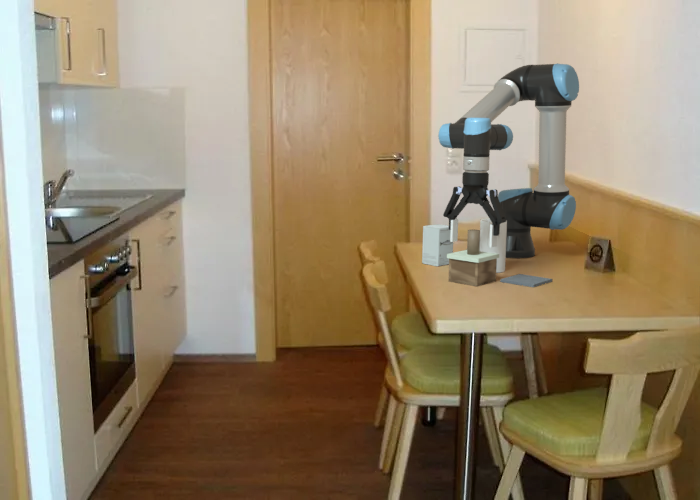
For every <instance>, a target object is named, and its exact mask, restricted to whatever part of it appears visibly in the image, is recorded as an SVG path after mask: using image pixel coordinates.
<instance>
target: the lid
mask: <svg viewBox="0 0 700 500" xmlns="http://www.w3.org/2000/svg"><path fill="white" fill-rule="evenodd" d="M466 239H467V240H466V241H467V242H466V244H467V245H466V247H467V248H466V249H465V250H460V251H453V253H449V254H447V258H450V259H456V260H463V261H469V262H476V263H480V262H484V261H488V260H492V259H497V258H499V254H497V253H490V252H482V251H479V250H480V229H467V238H466Z"/></svg>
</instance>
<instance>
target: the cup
mask: <svg viewBox="0 0 700 500" xmlns="http://www.w3.org/2000/svg"><path fill="white" fill-rule="evenodd" d="M491 224H492V221H491V220H490V218H489V217H488V218H481V219H480V221H479V230H480V250H479V251H482V252H490V253H497V254H499V258H497V266H496V274H497V273H498V274H501V273H504V272H505V271H506V259H507V258H506V234H507V220H506V222H504V223H501V224H500V231H499V235H498V236H497V246H496V247H489V240H490V225H491Z"/></svg>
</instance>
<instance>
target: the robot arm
mask: <svg viewBox="0 0 700 500" xmlns="http://www.w3.org/2000/svg"><path fill="white" fill-rule="evenodd" d="M579 80H580V79H579V76H578V73H577V71H576V70H575V68H574V67H573V66H572V65H571V64H567V63H549V64H548V63H547V64H545V63H543V64H526V65H522V66H520V67H517V68H515V69H513V70H511V71H510V72H508V73H505V75H503V76H502V77H501V78H500V79H498V80H497V82H495V83H494V84H493V89H492V90H491V91H489V92H488V93H487V94H486V95H485V96H484V97H482V98H481V99H480V100H479V101H478V102H477V103H476V104H475V105H474V106H472V107H471V108H470V109H469V110H467V112H466V113H464V114H463V115H462V116H461V117H460V118H459V119H458V120H457V121H455V122H453V123H452V122H449V123H443V124H442V125H441V126H440V128H439V130H438V135H437V137H438V141H439V144H440V145H441V146H442V148H447V149H460V150H461V149H462V150H463V156H462V159H463V160H462V161H463V162H462V170H463V172H462V178H461V179H462V180H461V183H462V186H454V187H453V188H452V194H451V197H450V199H449V201H448V203H447V205H446V207H445V209H444V212H443V214H442V215H443V217H445V218H448V226H449V230H451V234H450V242H453V243H454V242H458V239H459V238H458V237H459V235H458V234H459V218H458V216H459V215H460V214H461V212H462V211H463V210H464V209H465V208H466V206H467V205H468V204H475V205H479V206H481V207H482V209H483V210H484V212H485V214H486V215H487V216H488V218H490V220H491V221H492V224H491V225H490V240H489V247H496V246H497V236H498V235H499V231H500V224H501V223H504V222H506V220H507V234H506V259H527V258H533V257H535V254H536V249H535V245H534V242H533V238H532V234H531V228H541V229H550V230H551V231H552V230H565V229H566V228H568V227H569V226H570V225H571V223H572V221H573V219H574V217H575V215H576V209H577V203H576V202H577V201H576V198H575V197H574V196H573V195H571V194H570V188H569V187H568V186H567V185H566V148H567V147H566V144H567V143H566V141H567V111H568V110H570V108H571V107H572V101H575V100H576V99H577V98H578V95H579V92H580V81H579ZM525 101H526V102H527V101H534V107H535V108H536V109H537V111H538V113H539V126H538V127H539V132H538V177H537V178H538V181H537V182H538V183H537V185H536V186H535V187H534V188H531V187H526V188H525V187H524V188H512V189H511V188H510V189H503V190H501V191H499V192H498V190H497V189H489V188H488V186H489V180H490V178H489V177H490V173H489V172H487V171H489V170H490V153H491V152H490V151H502V150H506V149H508V148H509V147H510V146H511V144H512V143H513V140H514V133H513V131H512V129H511V127H509V126H508V125H505V124H502V123H500V124H499V123H497V124H492V123H493V121H494V120H496V118H497V117H499V116H500V115H501V114H502V113H503V112H504V111H505V110H506V109H508V108H509V107H512V106H515V105H517V103H518V102H519V103H520V102H525ZM461 195H463V196H462V197H461ZM460 197H461V199H460ZM488 198H489V199H488ZM459 199H460V200H459ZM489 200H490V201H489ZM457 203H458V204H457Z"/></svg>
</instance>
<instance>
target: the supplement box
mask: <svg viewBox="0 0 700 500" xmlns="http://www.w3.org/2000/svg"><path fill="white" fill-rule="evenodd" d="M450 234H451V230H449V224H448V225H447V224H429V225H423V226H422V253H421V254H422V255H421V256H422V258H421V263H422V264H425V265H427V266H428V265H429V266H434V267H440V266H441V267H442V266H446V265H449V258H447V254H449V253H454V242H450Z"/></svg>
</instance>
